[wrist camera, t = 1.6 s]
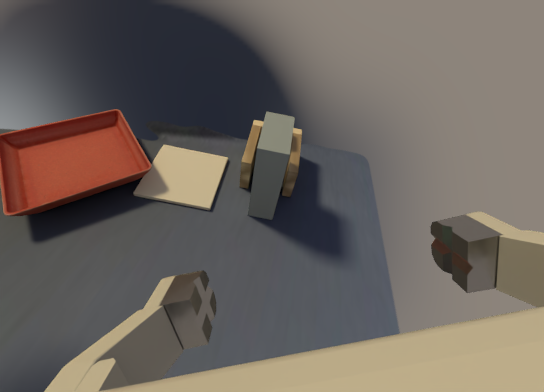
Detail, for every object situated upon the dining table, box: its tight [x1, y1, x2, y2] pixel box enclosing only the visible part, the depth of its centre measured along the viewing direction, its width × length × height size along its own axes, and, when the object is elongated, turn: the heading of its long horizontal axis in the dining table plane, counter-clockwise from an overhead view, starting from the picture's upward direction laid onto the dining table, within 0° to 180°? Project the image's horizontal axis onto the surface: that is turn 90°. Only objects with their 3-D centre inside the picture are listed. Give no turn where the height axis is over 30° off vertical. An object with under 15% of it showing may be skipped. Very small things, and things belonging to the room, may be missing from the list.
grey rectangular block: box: [248, 112, 294, 220], centre depth 39 cm, size 4×8×14 cm, turn 172°
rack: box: [240, 120, 302, 197], centre depth 47 cm, size 9×12×6 cm
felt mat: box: [133, 145, 228, 210], centre depth 45 cm, size 12×12×1 cm
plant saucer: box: [0, 109, 152, 216], centre depth 41 cm, size 18×18×3 cm
